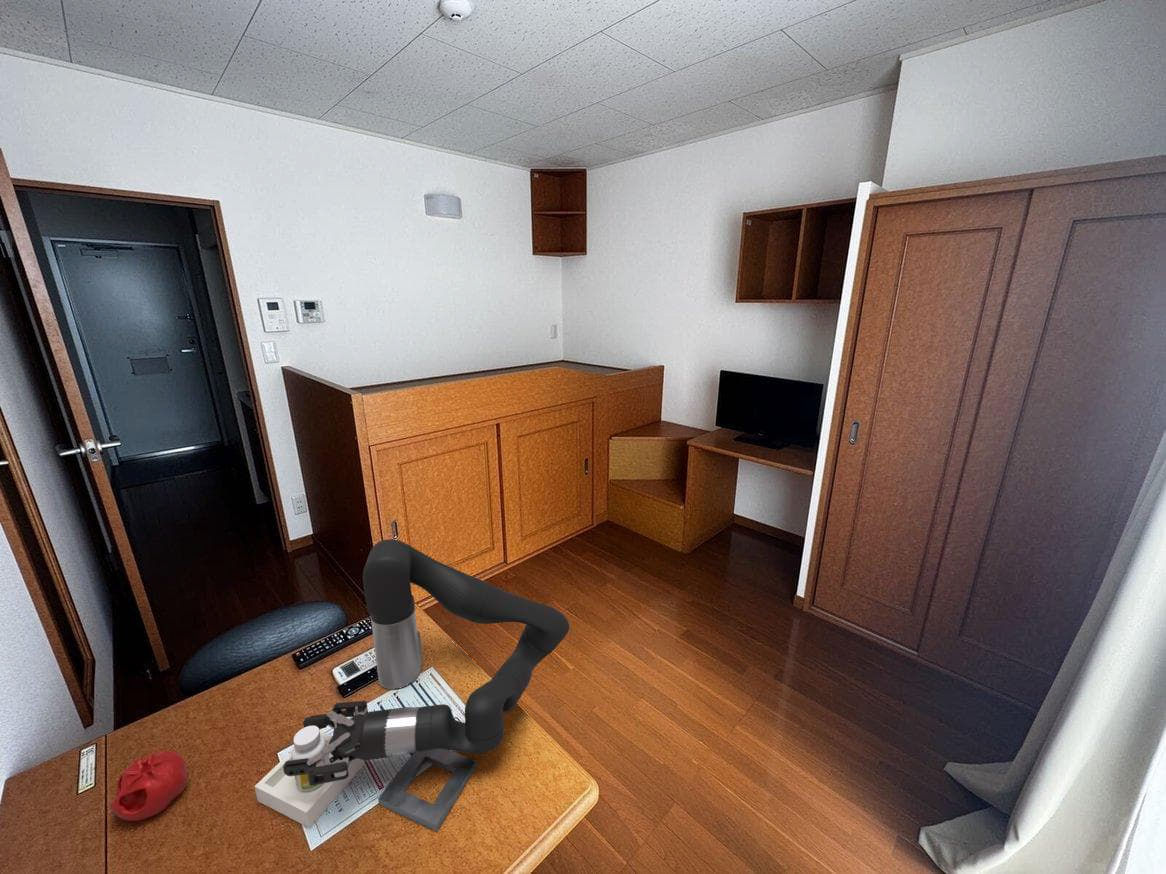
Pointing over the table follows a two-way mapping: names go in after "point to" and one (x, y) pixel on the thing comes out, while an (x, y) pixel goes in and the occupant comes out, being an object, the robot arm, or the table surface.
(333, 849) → the table surface
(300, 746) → the supplement bottle
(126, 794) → the pomegranate
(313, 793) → the bin
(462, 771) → the socket plate
